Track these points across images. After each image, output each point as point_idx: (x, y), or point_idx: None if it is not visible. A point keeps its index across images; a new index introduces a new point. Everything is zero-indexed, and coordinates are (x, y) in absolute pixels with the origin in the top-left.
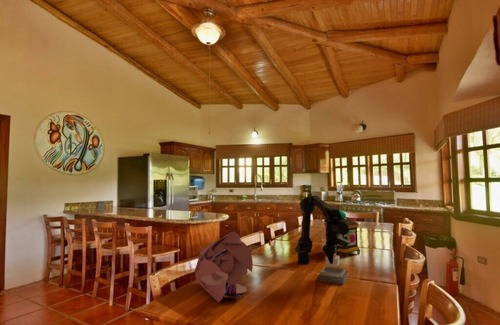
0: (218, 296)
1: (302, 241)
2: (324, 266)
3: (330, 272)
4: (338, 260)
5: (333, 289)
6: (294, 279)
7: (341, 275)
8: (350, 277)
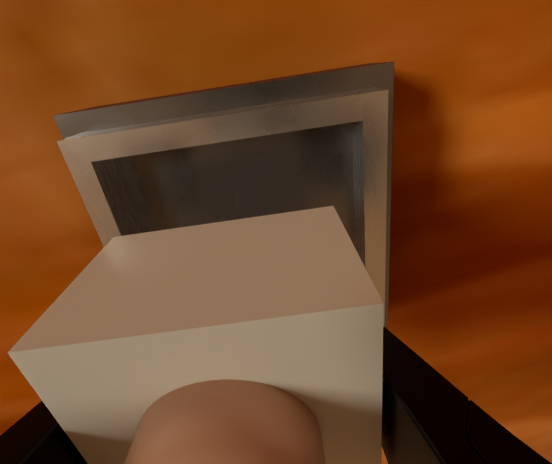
0: None
1: None
2: None
3: None
4: (216, 270)
5: (545, 114)
6: None
7: (384, 95)
8: (66, 65)
